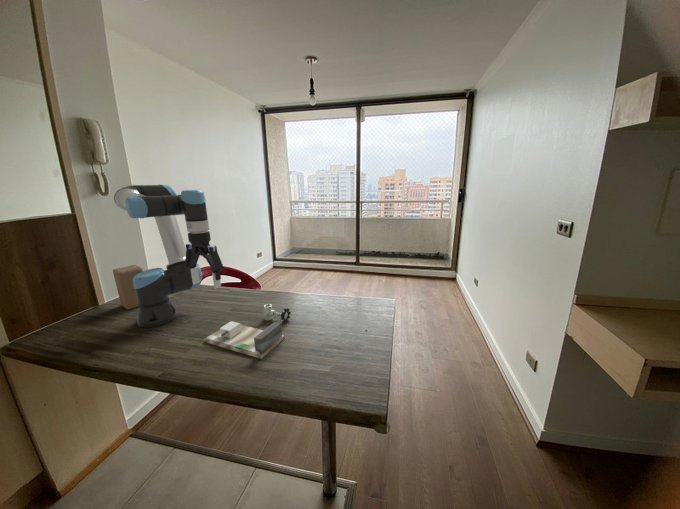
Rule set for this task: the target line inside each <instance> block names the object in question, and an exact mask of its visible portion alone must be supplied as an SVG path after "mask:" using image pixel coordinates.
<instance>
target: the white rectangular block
mask: <svg viewBox="0 0 680 509" xmlns="http://www.w3.org/2000/svg"><path fill="white" fill-rule="evenodd" d="M241 325H242V323H240V322H236V321H232V320H231V321H229V322H228V323H225V325H222V326H221V327H220V328H219V330H220V333H221V336H223V337H226V338H230V339H231V338H232V337H234V336H235V335H236V334H238V333H239V332H241Z"/></svg>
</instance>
